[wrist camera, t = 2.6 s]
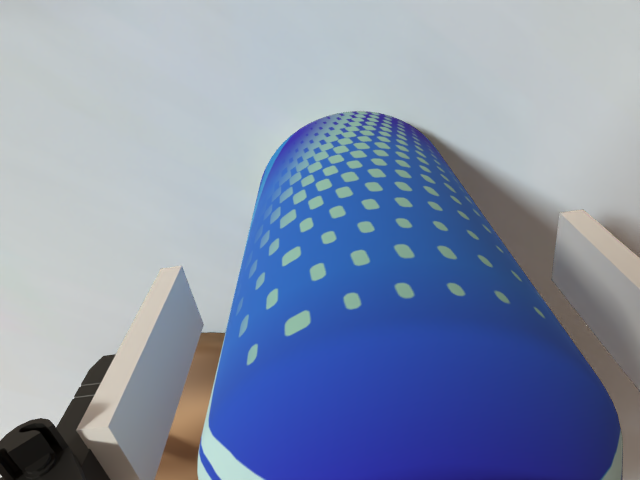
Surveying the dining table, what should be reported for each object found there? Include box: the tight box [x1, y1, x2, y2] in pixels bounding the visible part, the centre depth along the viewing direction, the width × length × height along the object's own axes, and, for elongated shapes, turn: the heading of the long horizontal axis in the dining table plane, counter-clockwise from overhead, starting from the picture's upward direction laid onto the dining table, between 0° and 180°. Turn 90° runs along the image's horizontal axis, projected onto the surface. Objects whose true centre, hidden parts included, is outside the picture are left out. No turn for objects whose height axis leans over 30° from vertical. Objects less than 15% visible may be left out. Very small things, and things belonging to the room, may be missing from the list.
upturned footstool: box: [155, 333, 225, 480], centre depth 26 cm, size 14×14×6 cm
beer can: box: [197, 111, 623, 480], centre depth 14 cm, size 8×8×16 cm
